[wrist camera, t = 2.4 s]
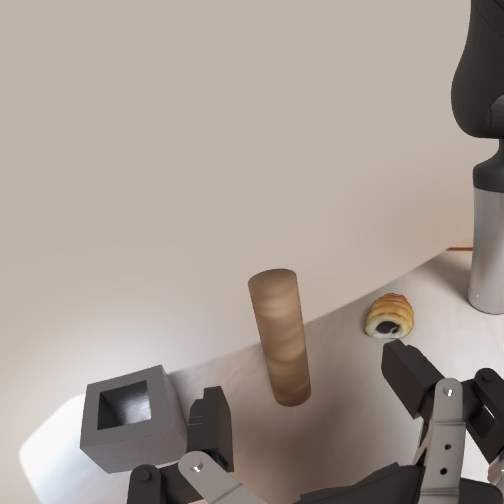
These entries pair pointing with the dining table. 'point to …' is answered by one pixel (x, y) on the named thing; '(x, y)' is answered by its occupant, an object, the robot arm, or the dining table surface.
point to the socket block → (133, 421)
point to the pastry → (390, 317)
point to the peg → (282, 334)
